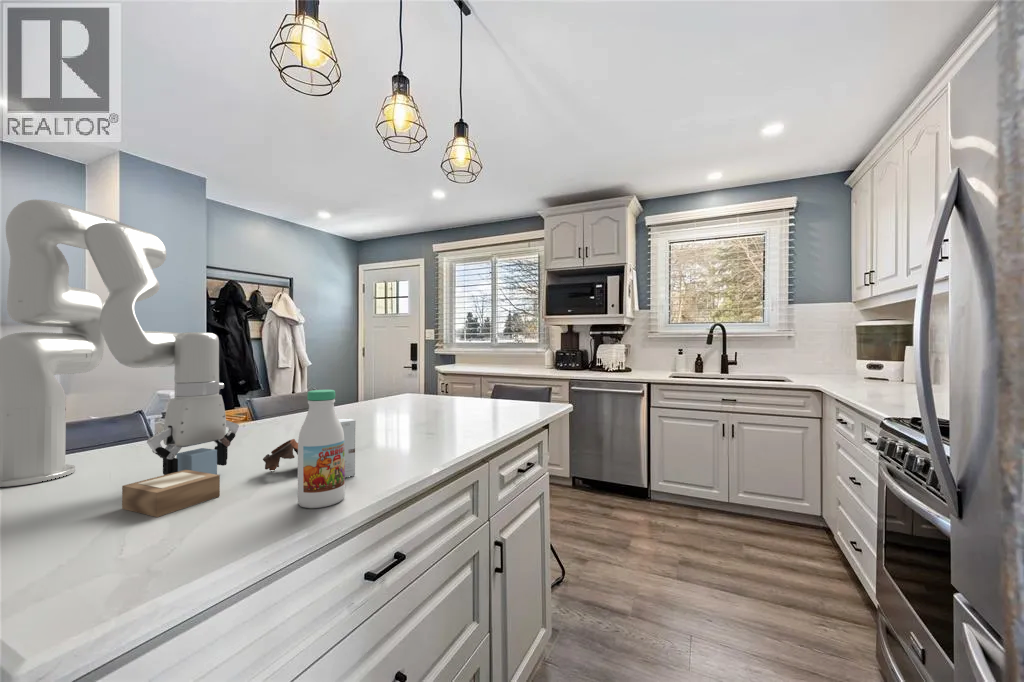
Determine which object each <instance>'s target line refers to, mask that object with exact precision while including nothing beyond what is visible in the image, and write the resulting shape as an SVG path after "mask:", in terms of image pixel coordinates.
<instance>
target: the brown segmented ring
mask: <svg viewBox="0 0 1024 682" xmlns="http://www.w3.org/2000/svg"><path fill="white" fill-rule="evenodd" d="M294 452H295V453H296V455H297V456H298V442H297V440H296V439H295V438H293V439H289V440H287V441H285V442H284V443H282V444H280V445H279V446H277V447H276V448H274V449H273V450H271V454H266V455H265V456H264V457H263V458H262V460H263V462H264V463H265V465H264V469H265V470H269V471H271V470H275V469H276V470H277V468H280V460H281V459H289V460H291V459H294V458H295V457H296V456H295V454H294ZM276 470H275V471H276Z"/></svg>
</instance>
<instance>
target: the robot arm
mask: <svg viewBox="0 0 1024 682" xmlns="http://www.w3.org/2000/svg"><path fill="white" fill-rule="evenodd" d="M5 237H6V243H7V247H8V252H9V269H8V280H7V281H8V284H7V296H6V310H7V315H8V316H9V318H10V320H12V321H14V322H16V323H17V324H21V325H26V326H36V327H50V328H51V327H54V328H62V332H59V333H58V332H45V331H43V332H42V331H40V332H39V331H38V332H37V331H29V332H28V331H26V332H25V331H24V332H16V333H15V332H13V333H11V334H6V335H5V336H2V337H0V488H6V487H16V486H26V485H32V484H37V483H42V481H43V482H46V481H47V480H48V481H52V480H56V479H59V477H60V478H63V476H64V477H66V475H67V476H69V475H72V474H73V473H75V472H76V466H75V465H73V464H66V445H67V444H66V443H67V442H66V439H67V437H66V435H67V434H66V433H67V427H66V426H67V421H66V418H67V417H66V416H67V412H66V411H67V405H66V404H67V403H66V400H67V398H66V397H67V396H66V392H65V390H64V387H63V386H62V384H61V383H60V381H59V380H58V378H56V377H55V376H56V375H57V376H59V375H74V374H75V375H76V374H83V373H87V372H91V371H93V370H94V369H96V368H97V367H98V366H99V364H100V363H101V361H102V359H103V356H104V348H105V343H106V346H107V347H108V349H109V351H110V353H111V355H112V356H113V357H114V358H115V360H116V361H117V362H119V363H120V364H121V365H123V366H125V367H128V368H133V369H142V368H144V369H146V368H166V367H167V368H170V367H174V397H173V398H169V400H168V403H167V407H166V411H165V417H164V425H163V429H162V430H160V432H158V433H156V434H154V435H153V436H151V437H150V438H148V439H147V441H146V443H147V444H148V446H149V448H150V449H151V451H152V453H153V454H155V455H157V456H158V457H159V458H160V459H162V474H163V475H167V474H171V473H174V472H178V459H177V458H176V454H177V453H180V451H181V449H182V448H186V447H187V448H188V447H192V446H193V447H194V446H198V445H202V444H207V443H211V442H214V443H215V444H216V446H214V448H213V449H215V450H217V466H227V464H228V452H229V450H228V448H229V447H230V446H231V443H232V441H233V440H234V439H235V438H236V434H237V432H238V430H239V428H240V424H238V423H235V422H233V421H230V420H227V418H226V409H225V403H224V399H223V396H222V394H220V390H221V389H222V390H223V389H224V388H225V384H224V383H223V382H220V340H219V336H218V335H217V334H215V333H213V332H203V331H202V332H201V331H200V332H199V331H198V332H197V331H196V332H193V331H191V332H177V331H176V332H173V331H172V332H171V331H161V330H160V331H159V330H158V331H156V330H155V331H154V330H143V328H142V327H141V324H140V323H139V321H138V318H137V316H136V313H135V304H136V303H138V302H141V301H143V300H147V299H149V298H151V297H153V296H154V295H156V294H157V293H158V292H159V290H160V288H161V286H160V281H159V280H158V279H157V276H156V274H155V272H154V270H153V269H157V268H159V267H161V266H163V264H164V263H165V261H166V260H167V259H166V258H167V255H168V254H167V248H166V246H165V244H164V243H163V242H162V240H161V239H160V238H159V237H158V236H156V235H155V234H153V233H151V232H147V231H145V230H142V229H139V228H136V227H134V226H131V225H129V224H126V223H125V222H121V221H118V220H116V219H113V218H111V217H106V216H103V215H100V214H97V213H94V212H90V211H87V210H84V209H81V208H78V207H75V206H71V205H67V204H65V203H62V202H57V201H52V200H46V199H28V200H25V201H22V202H20V203H18V204H17V205H15V207H13V208H12V209H11V211H10V212H9V213H8V215H7V218H6V221H5ZM58 244H59V245H60V244H61V245H65V246H70V247H73V248H79V249H82V250H87V251H88V252H89V256H90V257H91V259H92V261H93V263H94V265H95V267H96V269H97V272H98V274H99V276H100V277H101V280H102V283H103V284H104V287H105V288H106V290H107V293H108V297H107V298H106V299H105V300H104V301H103V299H102V298H101V296H99V295H98V294H97V293H96V292H95V291H92V290H91V289H86V288H83V287H76V286H70V284H69V273H70V266H69V263H68V261H67V258H66V256H65V255H64V253H63V252H62V250H61V249H60V247H58V246H57V245H58ZM227 428H228V430H227ZM162 441H163V444H164V446H165V448H164V447H163V446H162V444H161V442H162ZM71 473H72V474H71ZM55 478H56V479H55ZM51 479H52V480H51Z"/></svg>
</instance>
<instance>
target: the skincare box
mask: <svg viewBox="0 0 1024 682" xmlns="http://www.w3.org/2000/svg"><path fill="white" fill-rule="evenodd" d="M338 419H339V421H340V423H341V425H342V428H343V433H344V449H345V477H347V478H350V477H349V476H352V477H354V476H355V475H356V420H355V419H353V418H348V417H347V418H346V417H345V418H338Z"/></svg>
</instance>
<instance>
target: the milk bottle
mask: <svg viewBox="0 0 1024 682" xmlns="http://www.w3.org/2000/svg"><path fill="white" fill-rule="evenodd" d="M306 398H307V404H308V410H307V414H306V417H305V419H304V421H303V423H302V426H301V427H300V430H299V434H298V439H297V440H298V442H297V443H298V455H297V504H298V506H300V507H301V508H306V509H319V508H325V507H329V506H333V505H336V504H339V503H340V502H341V501H342V500H344V497H345V495H346V494H345V493H346V492H345V489H346V487H345V486H346V483H345V482H346V478H345V449H344V433H343V428H342V425H341V423H340V421H339V419H340V418H339V417H338V415H337V412H336V409H335V402H336V391H335V390H334V389H316V390H315V389H313V390H309V391H307V397H306Z"/></svg>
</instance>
